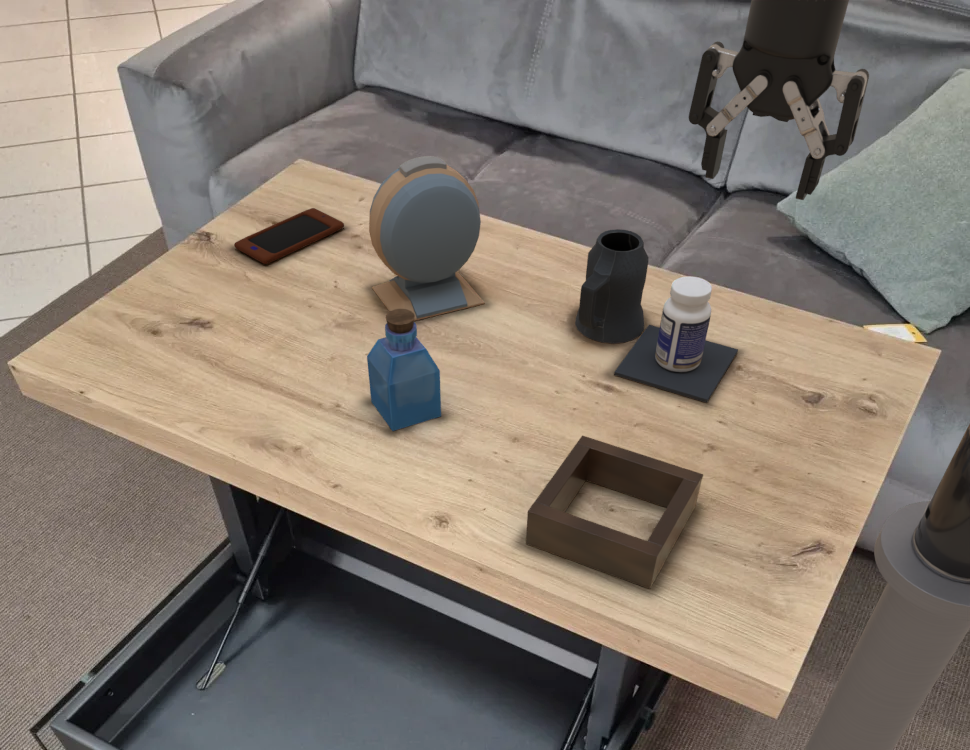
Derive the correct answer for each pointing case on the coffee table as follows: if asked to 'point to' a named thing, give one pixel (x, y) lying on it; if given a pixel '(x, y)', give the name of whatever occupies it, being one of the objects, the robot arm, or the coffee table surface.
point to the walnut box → (602, 543)
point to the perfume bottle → (403, 374)
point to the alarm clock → (425, 237)
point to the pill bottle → (684, 324)
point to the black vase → (613, 288)
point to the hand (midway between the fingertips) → (756, 185)
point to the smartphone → (288, 235)
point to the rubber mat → (688, 384)
